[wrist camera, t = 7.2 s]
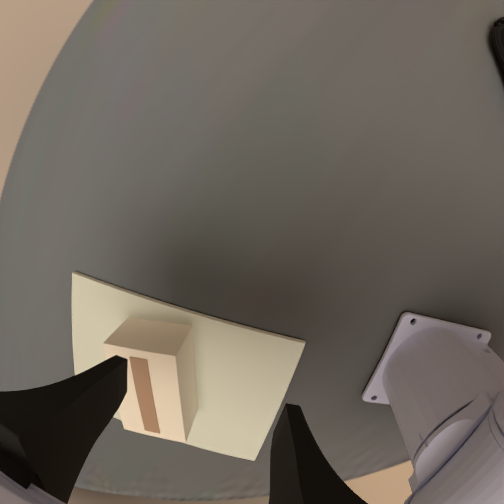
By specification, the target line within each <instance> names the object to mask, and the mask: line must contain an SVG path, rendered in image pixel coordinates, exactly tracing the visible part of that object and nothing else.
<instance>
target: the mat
mask: <svg viewBox="0 0 504 504" xmlns="http://www.w3.org/2000/svg"><path fill="white" fill-rule="evenodd" d="M128 317H131V318H138V319H145V320H152V321H159V322H167V323H175V324H183V325H192V326H193V342H194V361H195V377H196V391H197V404H198V410H197V413H196V416H195V419H194V421H193V424H192V427H191V430H190V433H189V436H188V438H187V441H186V444H189V445H193V446H196V447H199V448H203V449H207V450H210V451H214V452H218V453H222V454H226V455H230V456H234V457H239V458H243V459H248V460H253V461H255V459H256V457H257V455H258V453H259V450H260V448H261V446H262V444H263V442H264V440H265V438H266V436H267V433H268V431H269V429H270V427H271V425H272V422H273V420H274V418H275V416H276V414H277V411H278V409H279V407H280V404H281V402H282V400H283V398H284V395H285V393H286V390H287V388H288V386H289V383H290V381H291V379H292V376H293V374H294V371H295V369H296V366H297V364H298V361H299V359H300V356H301V354H302V351H303V349H304V346H305V341H304V340H300V339H296V338H292V337H287V336H283V335H279V334H275V333H271V332H267V331H263V330H260V329H256V328H252V327H248V326H244V325H241V324H237V323H233V322H230V321H226V320H223V319H219V318H216V317H212V316H209V315H205V314H202V313H198V312H195V311H192V310H188V309H185V308H182V307H178V306H175V305H172V304H169V303H166V302H163V301H159V300H156V299H153V298H150V297H147V296H144V295H141V294H138V293H135V292H132V291H129V290H126V289H123V288H120V287H117V286H115V285H112V284H109V283H106V282H103V281H100V280H98V279H95V278H92V277H89V276H87V275H84V274H81V273H79V272H76V271H75V272H73V273H72V337H73V355H74V369H75V375H77V374H79V373H82V372H84V371H86V370H88V369H90V368H92V367H94V366H95V365H97V364H99V363H101V362H103V361H105V360H106V356H105V351H104V346H103V343H104V342H105V341H106V340H107V338H108V337H109V336H110V335H111V334H112V333H113V332H114V331H115V330H116V329H117V328H118V327H119V326H120V325H121V324H122V323H123V322H124V321H125V320H126V319H127V318H128ZM113 417H114V418H117V419H119V420H121V416H120V413H119V409H118V410H117V412H116V413H115V415H114V416H113ZM183 443H184V442H183Z"/></svg>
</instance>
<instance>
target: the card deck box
mask: <svg viewBox="0 0 504 504" xmlns="http://www.w3.org/2000/svg"><path fill="white" fill-rule="evenodd" d="M103 346H104V351H105V356H106V360H107V359H109V358H111V357H113V356H115V355H118V356H121V357H123V358H126V359H128V368H127V393H126V395H125V397H124V399H123V401H122V403H121V405H120V407H119V413H120V416H121V420H122V423H123V426H124V429H127V430H130V431H134V432H138V433H142V434H146V435H151V436H155V437H159V438H164V439H169V440H174V441H179V442H184V443H186V441H187V438H188V436H189V433H190V430H191V427H192V424H193V421H194V419H195V416H196V413H197V410H198V404H197V391H196V377H195V361H194V342H193V326H192V325H183V324H175V323H167V322H159V321H152V320H145V319H138V318H131V317H128V318H127V319H126V320H125V321H124V322H123V323H122V324H121V325H120V326H119V327H118V328H117V329H116V330H115V331H114V332H113V333H112V334H111V335H110V336H109V337H108V338H107V340H106V341H105V342H104V343H103Z"/></svg>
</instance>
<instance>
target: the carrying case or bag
mask: <svg viewBox="0 0 504 504" xmlns="http://www.w3.org/2000/svg"><path fill="white" fill-rule="evenodd" d="M496 22H497V23H496ZM496 22H494V24H495V25H494V26H495V28H494V29H493V32H492V42H493V47H494V51H495V53H496V56H497V58H498V61H499V63H500V66H501V68H502V71H503V74H504V17H502V18H500V19H498V20H497V21H496Z"/></svg>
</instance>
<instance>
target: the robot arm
mask: <svg viewBox="0 0 504 504" xmlns="http://www.w3.org/2000/svg"><path fill="white" fill-rule="evenodd" d="M414 318H415V320H414V322H412V323H410V321H411V320H412V319H414ZM478 334H479V336H478ZM477 336H478V337H477ZM490 338H491V333H490V332H489V331H487V330H482V329H478V328H474V327H469V326H465V325H461V324H456V323H452V322H448V321H444V320H440V319H435V318H431V317H427V316H423V315H419V314H415V313H411V312H405V313H403V314H402V315H401V317H400V319H399V322H398V324H397V326H396V328H395V330H394V333H393V335H392V337H391V339H390V341H389V343H388V345H387V348H386V350H385V352H384V354H383V356H382V358H381V360H380V362H379V364H378V366H377V368H376V370H375V371H374V373H373V375H372V377H371V379H370V381H369V383H368V385H367V386H366V388H365V390H364V392H363V394H362V398H363V400H364V401H366V402H373V403H382V404H390V405H391V408H392V411H393V413H394V416H395V418H396V421H397V424H398V426H399V429H400V432H401V434H402V437H403V440H404V443H405V445H406V448H407V451H408V454H409V457H410V460H411V462H412V465H413V468H414V472H413V474H412V476H411V477H410V478H409V483H410V486H411V490H412V494H411V495H410V496H409V497H408V498H407V500H406V501H405V503H404V504H504V362H503V361H502V360H501V359H500V358H499V357H498V356H497V354H496V353H495V352H494V351H493V350H492V349H491V348H490V347H489V346H488V345H487V344H488V342H489V340H490ZM127 368H128V359H126V358H123V357H121V356H118V355H115V356H113V357H111V358H109V359H107V360H105V361H103V362H101V363H99V364H97V365H95V366H94V367H92V368H90V369H88V370H86V371H84V372H82V373H79V374H77V375H75V376H72V377H70V378H68V379H65V380H63V381H60V382H57V383H54V384H50V385H47V386H43V387H38V388H33V389H28V390H20V391H7V392H0V504H67V503H68V500H69V497H70V495H71V492H72V489H73V487H74V485H75V482H76V480H77V478H78V475H79V473H80V471H81V469H82V467H83V464H84V462H85V460H86V458H87V456H88V454H89V452H90V450H91V449H92V447H93V445H94V443H95V442H96V440H97V439H98V437H99V436H100V434H101V433H102V432H103V430H104V429H105V427H106V426H107V424H108V423H109V422H110V420H111V419H112V417H113V416H114V415H115V413H116V412H117V410H118V409H119V407H120V405H121V403H122V401H123V399H124V397H125V395H126V393H127ZM372 396H375V397H372ZM269 504H368V503H366V502H365V501H364V500H362V499H361V498H360V497H359V496H358V495H356V494H355V493H354V492H353V491H352V490H351V489H350V488H349V487H348V486H347V485H346V484H345V483H344V482H343V481H342V480H341V478H340V477H339V476H338V475H337V474H336V472H335V471H334V470H333V468H332V467H331V466H330V464H329V463H328V461H327V460H326V458H325V457H324V455H323V454H322V452H321V450H320V448H319V447H318V445H317V443H316V441H315V439H314V437H313V435H312V433H311V431H310V429H309V427H308V424H307V422H306V420H305V417H304V415H303V412H302V410H301V407H300V406H298V405H293V404H288V403H286V404H285V407H284V409H283V411H282V414H281V416H280V418H279V421H278V423H277V425H276V428H275V430H274V432H273V438H272V445H271V457H270V498H269Z"/></svg>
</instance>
